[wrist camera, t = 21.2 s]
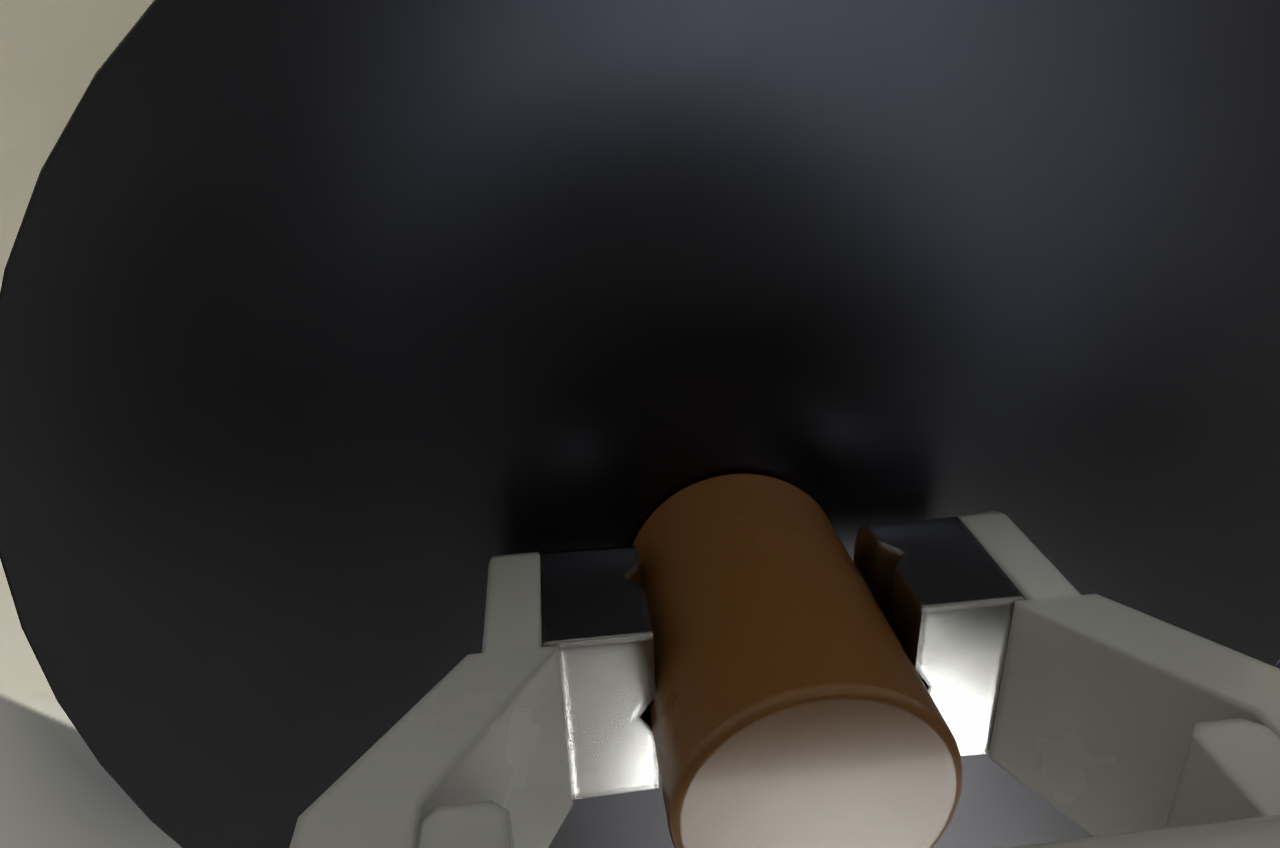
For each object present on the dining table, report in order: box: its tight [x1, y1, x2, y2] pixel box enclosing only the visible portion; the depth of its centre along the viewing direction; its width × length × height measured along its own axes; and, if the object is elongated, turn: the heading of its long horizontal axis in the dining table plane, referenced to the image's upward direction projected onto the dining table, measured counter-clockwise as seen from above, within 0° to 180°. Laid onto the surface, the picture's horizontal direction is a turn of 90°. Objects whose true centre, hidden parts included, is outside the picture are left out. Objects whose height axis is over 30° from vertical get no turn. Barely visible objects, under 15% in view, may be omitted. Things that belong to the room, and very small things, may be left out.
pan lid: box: [0, 0, 1280, 848], centre depth 9 cm, size 15×15×5 cm
